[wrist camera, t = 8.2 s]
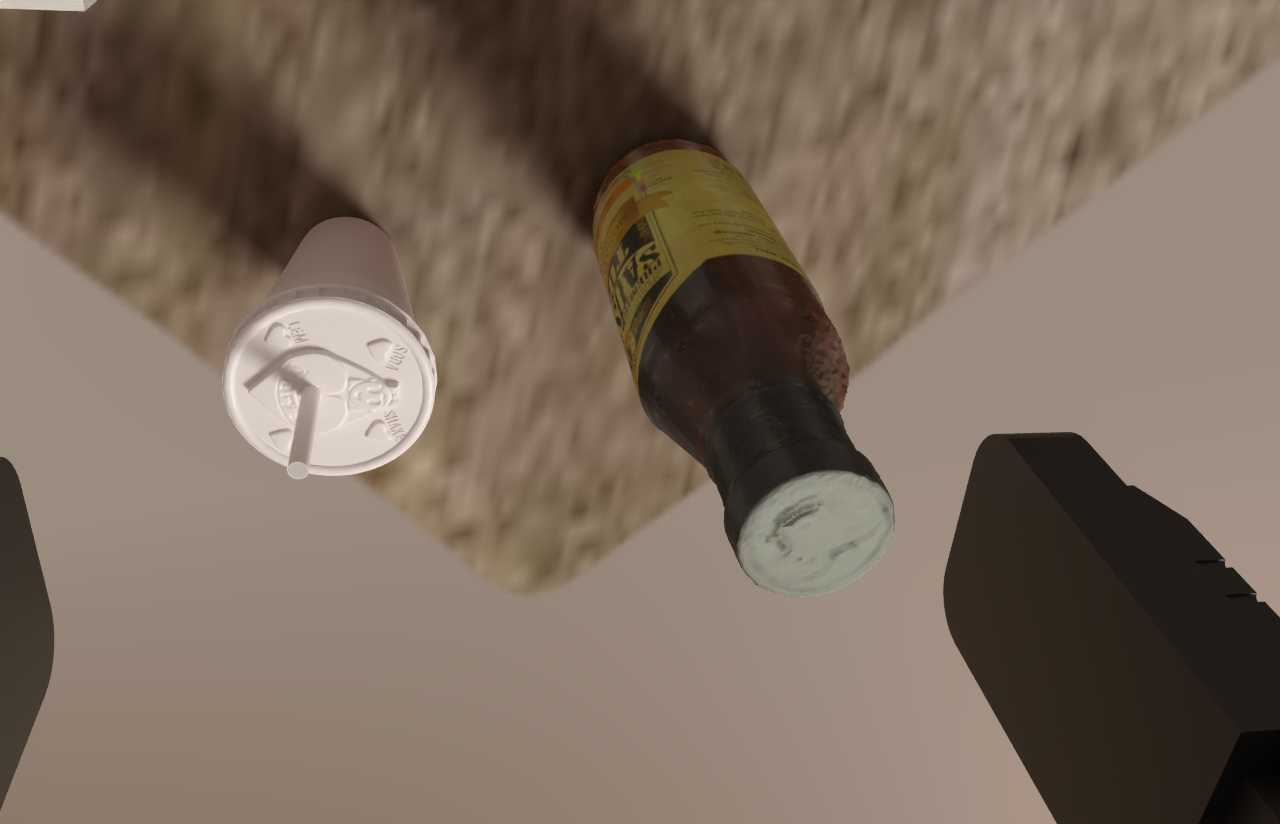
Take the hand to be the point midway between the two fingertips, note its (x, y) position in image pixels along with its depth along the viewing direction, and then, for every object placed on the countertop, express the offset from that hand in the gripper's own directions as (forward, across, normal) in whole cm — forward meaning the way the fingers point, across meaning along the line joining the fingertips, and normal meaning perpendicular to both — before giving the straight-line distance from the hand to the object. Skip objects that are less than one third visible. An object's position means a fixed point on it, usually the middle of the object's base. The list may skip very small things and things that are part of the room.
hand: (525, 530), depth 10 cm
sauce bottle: (+33, -8, +10) cm, 36 cm away
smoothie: (+33, +4, +12) cm, 36 cm away
